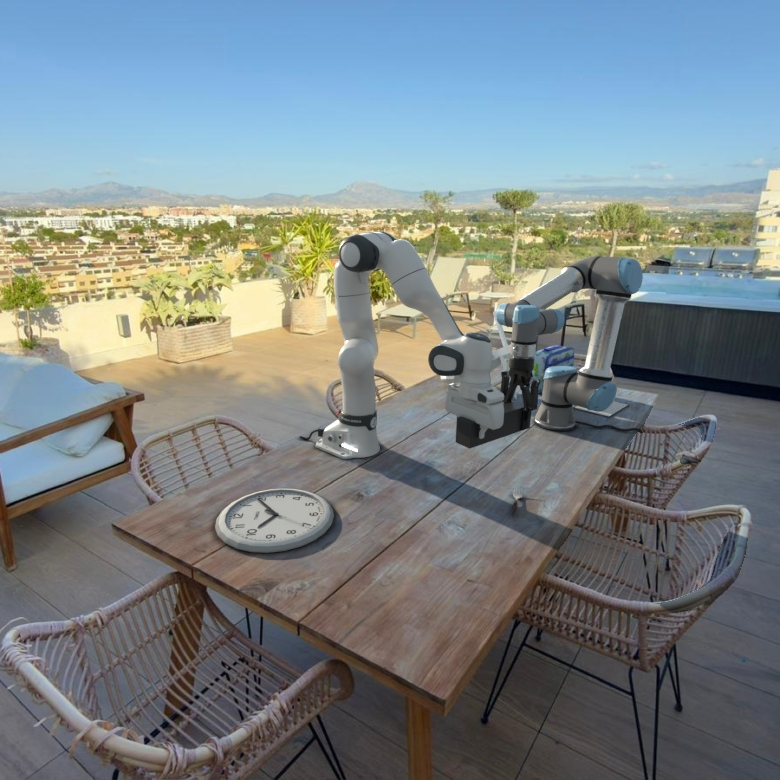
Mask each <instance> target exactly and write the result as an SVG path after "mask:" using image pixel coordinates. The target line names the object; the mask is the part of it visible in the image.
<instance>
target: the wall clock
mask: <svg viewBox="0 0 780 780" xmlns="http://www.w3.org/2000/svg"><path fill="white" fill-rule="evenodd" d="M334 518H335V514H334V509H333V507H332V506H331V504H330V503H329V502H328V501H327V499H325V498H323V497H321V496H320V495H318V494H316V493H313V492H311V491H307V490H304V489H296V488H270V489H265V490H260V491H256V492H252V493H250V494H246V495H244V496H242V497H240V498H238V499H236V500H234V501H232V502H231V503H229V504H228V505H227V506H226V507H224V508H223V509H222V510H221V511H220V513H219V515H218V516H217V518H216V520H215V525H214V529H215V532H216V535H217V538H218V539H220V540H221V541H222V542H223V543H224V544H226V545H228V546H230V547H232V548H234V549H236V550H240V551H245V552H248V553H249V552H250V553H261V554H262V553H265V554H270V553H277V552H287V551H290V550H293V549H298V548H301V547H304V546H306V545H308V544H311V543H312V542H314V541H316V540H317V539H319V538H321V537H322V536H323V535H325V534H326V532H327V531H328V530H329V529H330V528H331V526H332V525H333V522H334Z"/></svg>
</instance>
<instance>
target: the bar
mask: <svg viewBox="0 0 780 780" xmlns="http://www.w3.org/2000/svg"><path fill="white" fill-rule="evenodd" d="M502 404H503V406H504V421H503V425H502V426H501V427H500V428H498V429H495V430H492V429H490V428H488V429H487V430H486V432H485V435H484V438H482V439H480V438H477V432H479V431H480V430H481V428H480V425H479V424H477V423H476V422H475V421H472V420H470V419H467V418H464V417H462V416H460V417H457V416H456V427H455V443H456V444H459V445H460V446H463V447H465V448H467V449H470V450H471V449H473V448H476V447H478V446H481V445H484V444H488V443H490V442H494V441H496V440H499V439H501V438H504V437H508V436H510V435H514V434H516V433H519V432H522V430H520V428H521V418H522V410H524V403H523V400H522V401H521V400H518V399H515V400H512V402H509V403H506V404H504V403H502ZM531 421H532V417H531V418H530V420H529V421H528V429H530V428H531Z"/></svg>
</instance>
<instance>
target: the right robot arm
mask: <svg viewBox="0 0 780 780" xmlns="http://www.w3.org/2000/svg"><path fill="white" fill-rule="evenodd" d="M643 275H644V274H643V268H642V266H641V264H640V262H639V261H638V260H637V259H636V258H631V257H626V256H602V255H593V256H587V257H585V258H583V259H579V260H577V261H576V262H573V263H571V264H570V265H569V264H568V265H567V266H566V267H564V268H563V269H562V270H561V271H560V274H559V275H557V276H555V277H554V278H552V279H550V280H549V281H548V282H546V283H544V284H542V285H540V286H539V287H537V288H536V289H534V290H533V291H531V292H530V293H528V294H526V295H525V296H523V297H522V298H520V299H518V300H517V301H516V302H513V303H510V302H508V303H505V302H503V303H500V305H499V306H498V307H497V308H496V310H495V311H496V320H497V322H498V323H499V324H500V325H502V326H503V327H506V328H511V340H510V344H511V349H510V354H511V356H510V360H508V368H509V371H508V370H506V371H504V370H502V371H501V372H500V376H501V383H500V390H499V391H500V392H502V393H503V394H504V400H503V401H502V403H503V404H506V403H509V402H513V399H514V393H515V391H517V387H519V390H521V396H522V402H523V403H524V410H522V418H521V428H520V430H522V431H526V430H528V429H529V428H528V421H529V420H530V418H531V419H532V412H533V411H536V413H535V416H534V424H535V425H536V426H537V427H539V428H542V429H544V430H549V431H556V432H567V431H572V430H574V429H575V428H576V424H577V425H582V426H587V427H591V428H595V429H604V428H608V429H609V428H610V429H613V430H616V431H619V432H625V433H626V432H632V431H633V432H635V431H636V432H638V433H639V434H644V432H643V431H642V429H640V428H637V427H630V428H621V427H617V426H614V425H612V424H602V425H596V424H591V423H588V422H582V421H579V420H578V421H577V420H576V418H575V417H576V416H575V413H574V407H573V406H580V407H583V408H586V409H588V410H593V411H597V412H601V411H604V410H605V409H607V408H608V407H609V406H610V405H611V403H612V402H613V401H614V400H615V398H616V396H617V391H618V388H617V384H616V383H615V382H614V381H613V378H614V377H613V374H612V372H610V371H611V366H612V361H613V358H614V357H613V356H614V352H615V348H616V344H617V339H618V335H619V330H620V327H621V326H620V325H621V322H622V318H623V313H624V310H625V309H624V308H625V304H626V303H628V302H629V301H631V300H632V295H634V294H637V293H638V292H639V291H640V289H641V287H642V285H643V279H644V278H643ZM581 290H595V294H594V295H595V296H596V298H597V299H598V302H597V305H596V306H597V307H596V312H595V314H594V315H595V316H594V320H593V325H592V329H591V333H590V339H589V343H588V348H587V352H586V356H585V362H584V366H582V367H581V368H580V369H578V368H577V367H576V366H573V367H571V366H554V367H549V368H547V369H546V371H545V375H544V378H543V379H544V382H543V391H542V393H541V402H540V405H539V392H538V389H539V384H540V382H541V380H540V379H536V378H534V377H533V374H532V371H533V369H534V361H535V358H534V356H535V353H536V352H537V342H538V341H537V338H538V336H543V335H549V334H551V335H552V334H555V333H556V332H557V333H558V332H560V331H561V330H562V329H563V327H564V325H565V321H566V320H565V315H564V313H563V312H562V311H561V310H560V309H558V308H549V307H551V306H553V305H555V304H556V303H558V302H560V301H561V300H562V299H564V298H565V297H567V296H568V295H569V294H571V293H578V292H580V291H581ZM510 378H511V380H510ZM509 380H510V383H509ZM530 381H531V383H530ZM530 384H531V388H530ZM538 405H539V406H538ZM522 431H521V432H522Z"/></svg>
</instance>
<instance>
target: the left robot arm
mask: <svg viewBox="0 0 780 780" xmlns="http://www.w3.org/2000/svg"><path fill="white" fill-rule="evenodd" d="M338 259H339V260H338V261H336V263H335V264H334V268H333V293H334V301H335V308H336V309H335V310H336V318H337V322H338V324H339V327H340V330H341V333H342V338H343V345H342V346H341V348H340V349H339V352H338V355H337V356H338V357H337V365H338V368H339V376H340V377H339V378H340V383H341V393H342V394H341V396H342V397H341V398H342V402H341V403H342V408H341V409H339V410H338V411H336V412H335V413H336V414H335V416H338V418H337V419H336V420H334V421H333V422H331V423H330V424H328V423H324V424H322V425H321V426H320V427H319V428H317V429H314V430H312V431H311V432H310V433H309V435H308V437H304V436H302V435H299V439H301V440H306V441H308V440H310V439H311V438H312V436H313V434H315V433H317V437H318V438H319V437H320V439H319V440H317V441H316V443H315V448H317V449H318V450H321V451H323V452H326V453H328V454H331V455H332V456H335V457H338V458H340V459H342V460H349V459H360V458H361V459H362V458H368V457H369V458H370V457H372V456H375V455H377V454H378V453H379V452H380V451H381V448H380V443H379V439H378V433H377V424H378V411H377V407H376V405H377V403H376V401H377V400H376V399H377V398H376V397H377V395H376V393H377V386H376V382H375V368H374V367H375V361H376V360H377V358H378V355H379V343H378V338H377V337H378V336H377V333H376V328H375V324H374V318H373V310H372V300H371V291H370V283H369V282H370V281H369V280H370V275H371V274H372V273H373V272H378V271H382V272H383V273H385V275H386V276H387V278H388V281H389V283H390V285H391V288H392V289H393V291H394V293H395V295H396V297H397V298H398V300H399V301H400V303H401V304H402V305H403V306H405V307H407V308H409V309H413V310H415V311H418V312H420V313H421V314H424V315H425V316H426V317H427V318H428V319H429V321H430V322H431V324H432V326H433V327H434V330H435V331H436V333H437V334H438V336H439V338H440V340H441V342H440V343H439V344H436V345H435V346H434V347H433V348H431V350H430V351H429V354H428V356H427V357H428V358H427V360H428V361H427V362H428V365H429V368H430V369H431V371H432V372H433V373H434V374H435V375H437V376H439V377H441V376H457V375H458V376H459V377H460V383H459V384H456V383H452V384H450V385H448V387H447V394H446V397H445V404H444V408H445V410H446V412H447V413H449V414H452V415H454V416H456V418H457V417H460V416H462V417H464V418H467V419H470V420H472V421H475V422H476V423H477V424H479V425H480V428H481V430H480V431H479V432H477V438H480V439H482V438H484V435H485V432H486V430H487V429H488V428H490V429H492V430H495V429H498V428H500V427H501V426H502V425H503V421H504V406H503V404H504V403H503V400H504V394H503V393H502V392H500V390H499V389H498V388H497V387H495V386H494V385H493V384H492V377H491V372H490V370H491V368H492V350H493V344H492V341H491V338H489V336H487V335H485V334H482V333H479V332H466V333H465V334H464V333H463V332H462V331H461V329H460V327H459V326H458V324H457V322H456V321H455V319H454V317H453V315H452V313H451V312H450V310H449V308H448V306H447V305H446V303H445V301H444V299H443V298H442V296H441V295H440V293H439V291H438V290H437V288H436V286H435V284H434V282H433V280H432V278H431V276H430V274H429V271H428V270H427V268H426V265H425V264H424V262H423V260H422V258H421V256H420V255H419V254H418V252H417V250H416V249H415V247H414V246H413V244H411V242H410V241H408V240H406V239H396V237H395V236H394V235H392V234H391V233H389V232H386V231H367V232H363V233H359V234H352V235H350V236H347V237H346V238H345V239H343V240H342V241H341V242H340V244H339V248H338Z"/></svg>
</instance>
